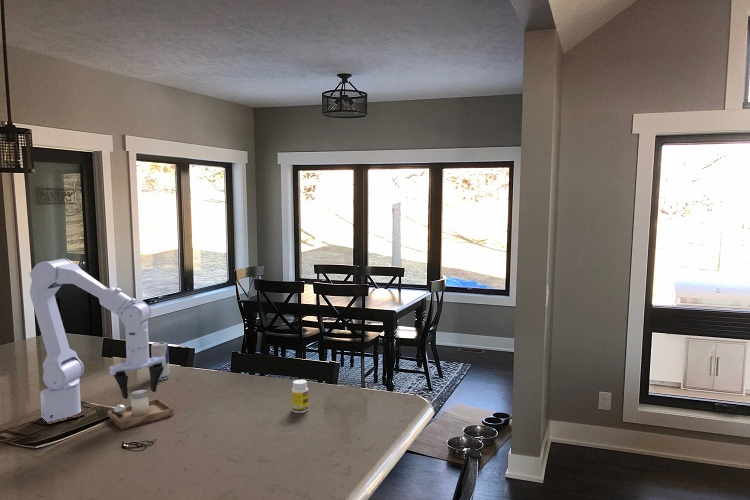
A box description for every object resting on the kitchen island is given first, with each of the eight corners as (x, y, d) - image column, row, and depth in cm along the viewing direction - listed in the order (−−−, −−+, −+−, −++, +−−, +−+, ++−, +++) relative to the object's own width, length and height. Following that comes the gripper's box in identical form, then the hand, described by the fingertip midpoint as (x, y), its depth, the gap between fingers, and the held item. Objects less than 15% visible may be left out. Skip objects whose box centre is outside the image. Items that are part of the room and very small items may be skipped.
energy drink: (172, 375, 186) (170, 341, 185) (164, 381, 180) (163, 346, 179) (157, 375, 186) (155, 341, 185) (149, 380, 181) (147, 345, 180)
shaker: (134, 418, 148) (133, 397, 147) (129, 413, 151) (128, 392, 150) (151, 413, 151) (151, 392, 150) (145, 409, 154) (144, 388, 153)
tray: (121, 430, 142) (120, 422, 142) (107, 418, 150) (107, 411, 150) (173, 415, 151) (173, 408, 151) (158, 404, 159) (158, 398, 159)
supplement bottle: (305, 413, 152) (304, 384, 151) (289, 412, 153) (289, 383, 152) (310, 407, 157) (310, 379, 156) (295, 406, 158) (294, 378, 157)
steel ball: (116, 418, 148) (115, 407, 147) (112, 415, 150) (112, 404, 149) (127, 415, 150) (127, 404, 149) (124, 412, 152) (123, 402, 152)
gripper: (114, 354, 141) (116, 405, 142) (169, 344, 151) (171, 391, 152) (105, 349, 146) (108, 397, 147) (159, 339, 156) (161, 385, 157)
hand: (139, 394), depth 150 cm, fingers open, 7 cm apart
